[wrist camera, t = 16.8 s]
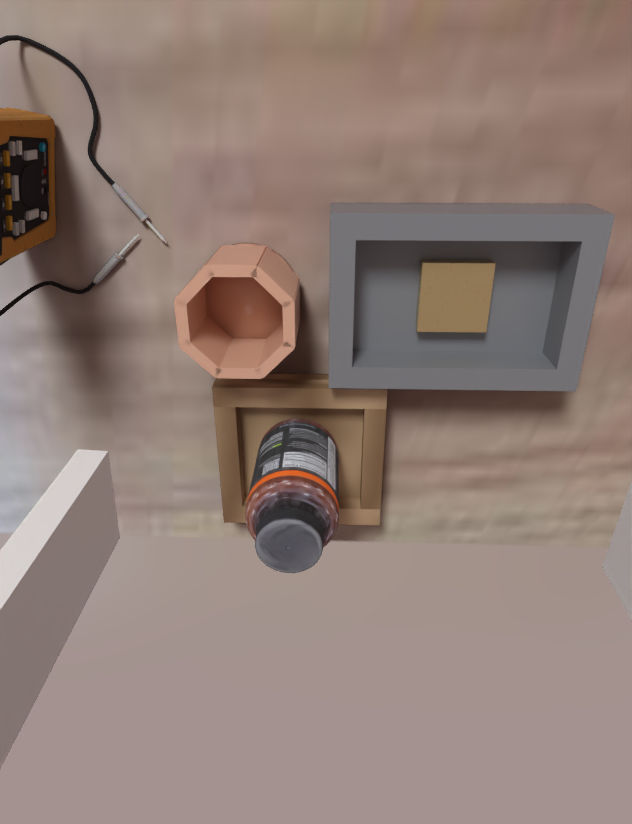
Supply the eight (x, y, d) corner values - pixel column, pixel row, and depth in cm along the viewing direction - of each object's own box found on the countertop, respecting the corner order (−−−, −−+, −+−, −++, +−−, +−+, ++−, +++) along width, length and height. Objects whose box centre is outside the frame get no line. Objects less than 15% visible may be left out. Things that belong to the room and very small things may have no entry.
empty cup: (202, 343, 42) (182, 377, 37) (192, 242, 39) (169, 264, 34) (301, 344, 42) (295, 379, 37) (299, 243, 39) (293, 265, 34)
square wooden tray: (229, 503, 49) (223, 522, 46) (218, 372, 43) (212, 387, 41) (377, 506, 48) (379, 525, 46) (384, 374, 43) (387, 389, 41)
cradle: (329, 364, 43) (328, 388, 39) (331, 202, 38) (330, 213, 34) (555, 367, 42) (576, 391, 39) (588, 203, 37) (614, 214, 34)
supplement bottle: (313, 495, 47) (305, 602, 37) (245, 460, 46) (218, 561, 35) (354, 438, 44) (358, 536, 34) (284, 400, 43) (267, 490, 33)
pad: (415, 326, 40) (416, 331, 39) (420, 259, 38) (422, 263, 37) (482, 327, 40) (486, 332, 39) (491, 259, 38) (495, 263, 37)
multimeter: (164, 310, 41) (33, 466, 24) (17, 283, 41) (-229, 421, 23) (181, 70, 35) (18, 34, 17) (7, 33, 34) (-351, -44, 16)
